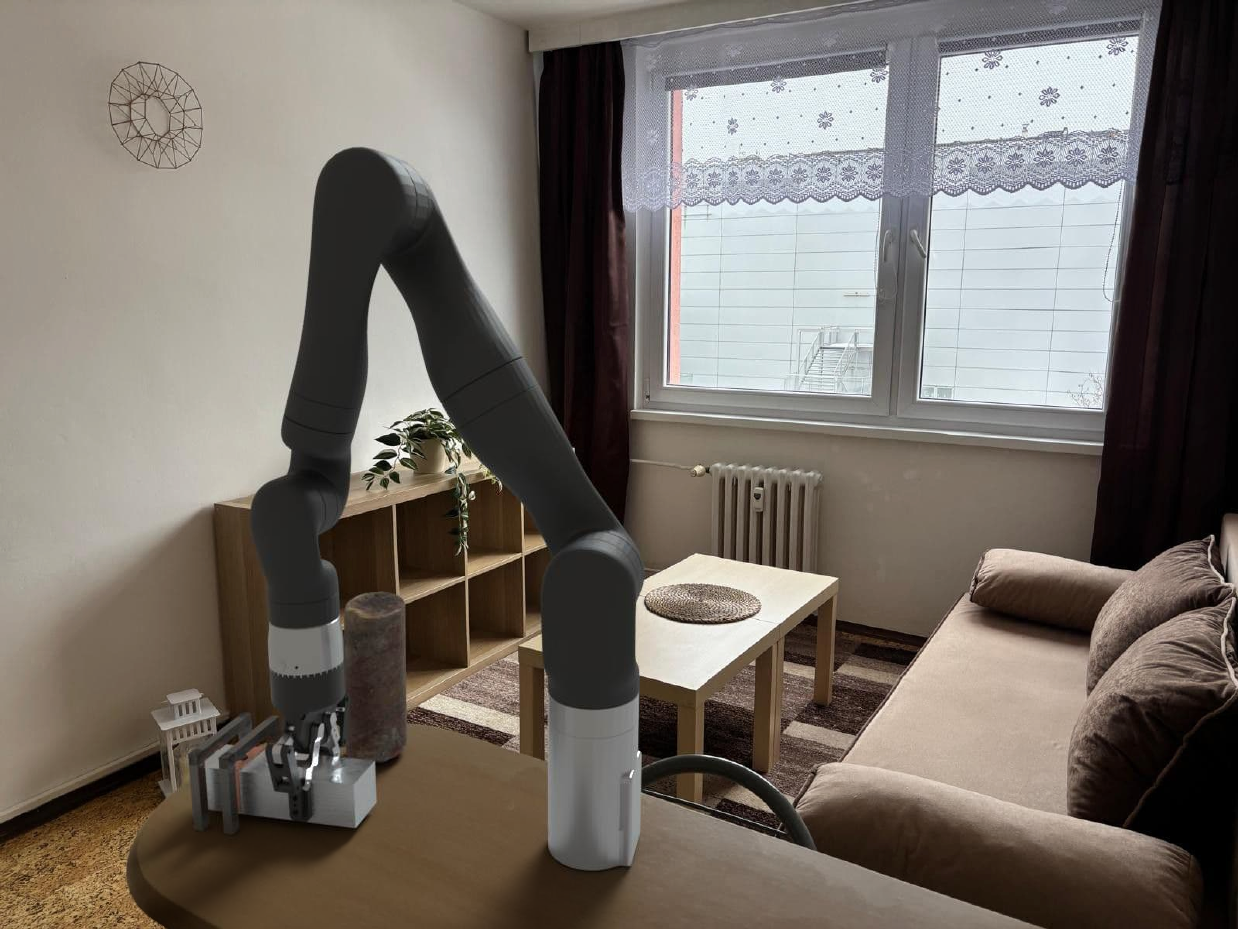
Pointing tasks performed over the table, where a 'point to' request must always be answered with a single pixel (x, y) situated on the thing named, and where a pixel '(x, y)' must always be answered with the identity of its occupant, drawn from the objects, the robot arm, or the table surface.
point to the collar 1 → (197, 765)
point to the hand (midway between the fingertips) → (314, 804)
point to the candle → (376, 676)
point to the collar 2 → (227, 768)
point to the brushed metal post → (335, 782)
